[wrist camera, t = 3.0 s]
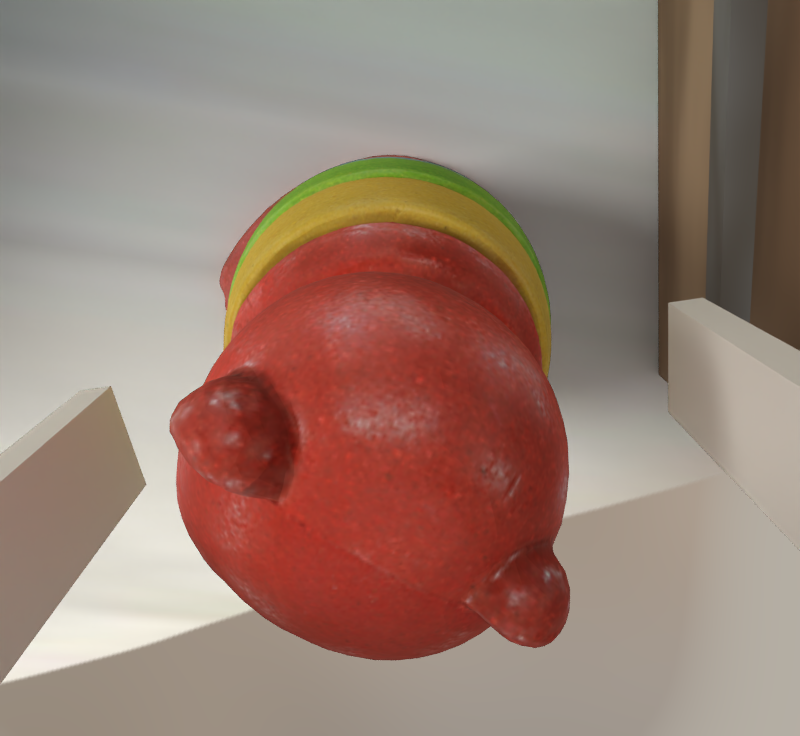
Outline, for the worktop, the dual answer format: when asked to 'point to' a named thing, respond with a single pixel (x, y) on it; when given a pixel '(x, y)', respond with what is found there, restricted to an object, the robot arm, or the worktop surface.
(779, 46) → the square tray
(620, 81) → the worktop surface
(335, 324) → the stacking bear
